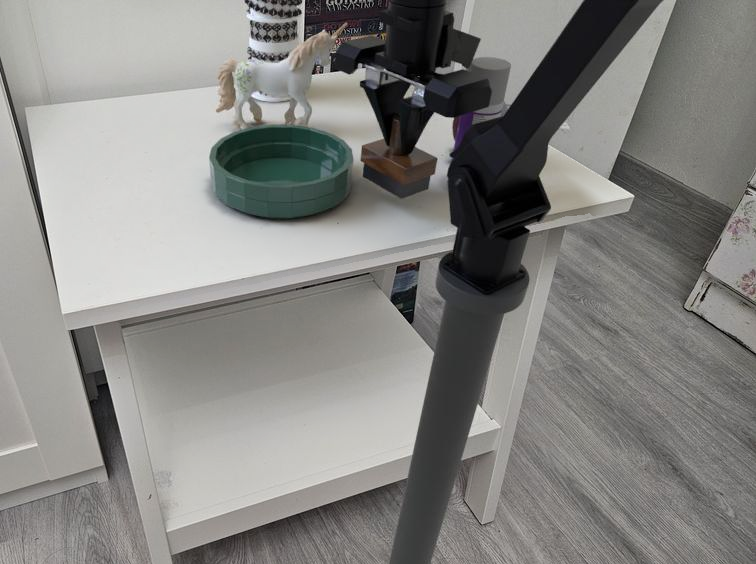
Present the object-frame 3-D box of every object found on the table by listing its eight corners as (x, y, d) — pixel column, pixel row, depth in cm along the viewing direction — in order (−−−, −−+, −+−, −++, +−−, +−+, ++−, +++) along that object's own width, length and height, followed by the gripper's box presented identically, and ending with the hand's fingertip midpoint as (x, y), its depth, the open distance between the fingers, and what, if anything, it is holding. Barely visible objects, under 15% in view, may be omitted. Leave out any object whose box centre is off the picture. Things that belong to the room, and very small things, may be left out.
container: (444, 175, 84) (466, 56, 74) (479, 176, 84) (506, 56, 74) (451, 193, 81) (475, 69, 71) (488, 193, 81) (517, 70, 71)
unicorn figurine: (352, 135, 94) (359, 37, 85) (219, 142, 91) (212, 43, 82) (341, 116, 99) (347, 22, 90) (216, 122, 97) (209, 27, 88)
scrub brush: (432, 189, 76) (443, 123, 71) (401, 201, 74) (410, 134, 68) (389, 166, 80) (396, 102, 75) (358, 176, 78) (364, 111, 73)
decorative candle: (241, 84, 109) (234, -92, 92) (294, 80, 110) (296, -94, 94) (252, 104, 102) (246, -83, 86) (307, 100, 104) (312, -84, 87)
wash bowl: (378, 195, 80) (382, 161, 77) (262, 237, 72) (261, 201, 69) (296, 146, 91) (297, 114, 88) (187, 178, 83) (184, 145, 80)
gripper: (545, 9, 62) (507, 161, 72) (411, -26, 73) (395, 109, 83) (465, 27, 57) (437, 188, 67) (335, -14, 68) (328, 129, 79)
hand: (399, 149), depth 74 cm, fingers closed on scrub brush, 2 cm apart
